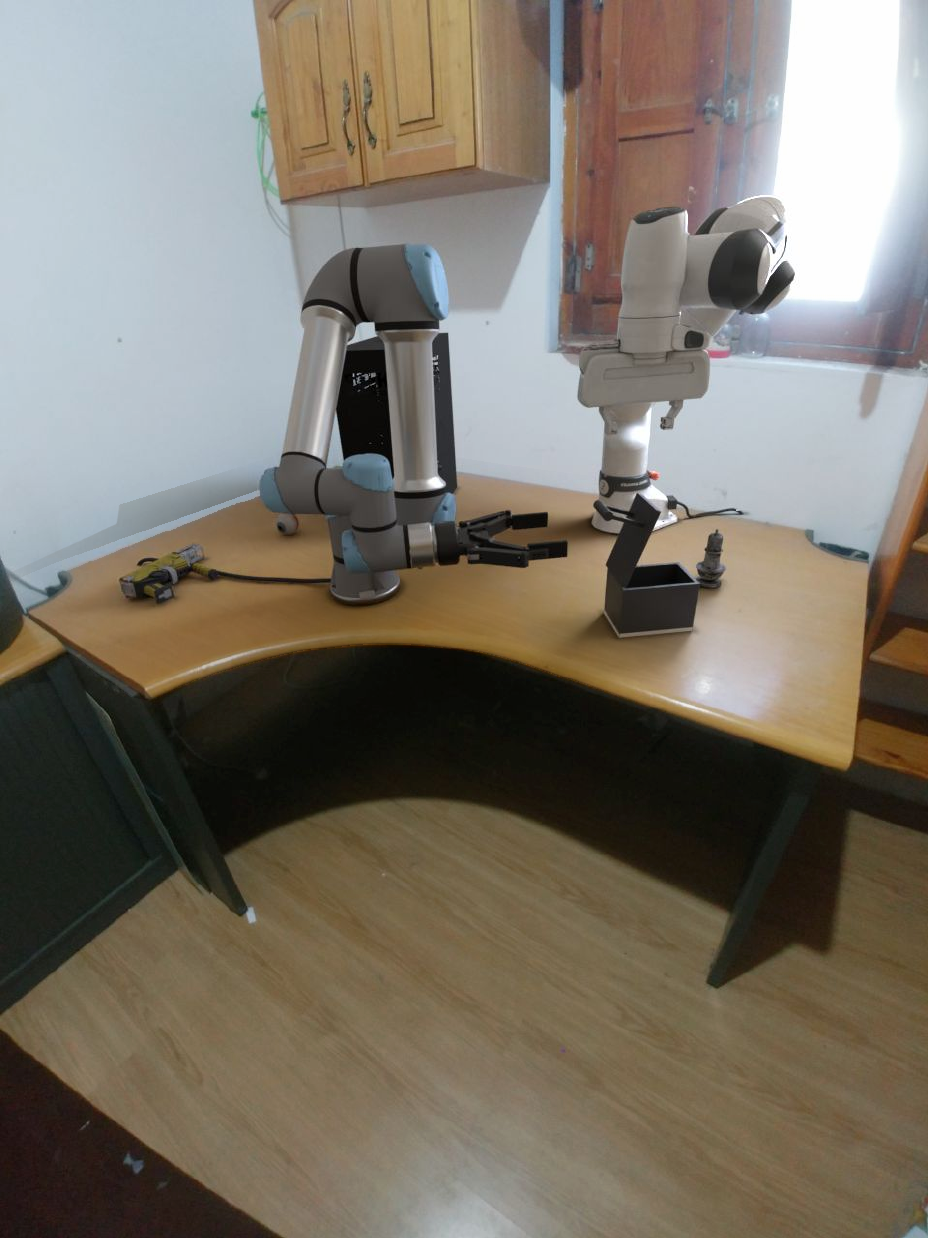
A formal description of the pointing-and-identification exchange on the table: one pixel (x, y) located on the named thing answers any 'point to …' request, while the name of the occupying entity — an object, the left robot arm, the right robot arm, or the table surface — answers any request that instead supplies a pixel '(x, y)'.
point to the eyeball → (287, 523)
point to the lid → (629, 535)
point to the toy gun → (164, 574)
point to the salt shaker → (711, 562)
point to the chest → (652, 601)
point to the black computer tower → (371, 418)
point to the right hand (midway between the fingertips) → (638, 431)
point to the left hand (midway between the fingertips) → (556, 533)
